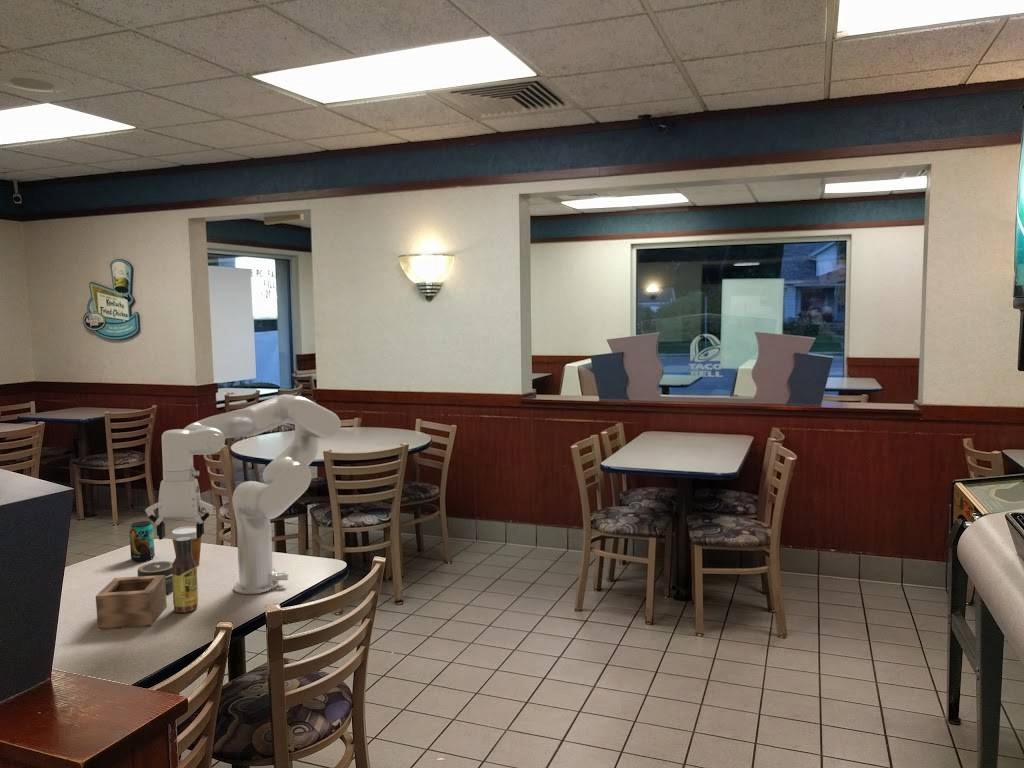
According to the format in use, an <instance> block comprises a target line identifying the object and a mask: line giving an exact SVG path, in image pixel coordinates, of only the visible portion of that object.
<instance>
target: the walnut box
mask: <svg viewBox="0 0 1024 768" xmlns="http://www.w3.org/2000/svg"><path fill="white" fill-rule="evenodd" d="M167 603H168V602H167V594H166V584H165V575H156V576H139V577H138V576H127V577H125V576H124V577H114V578H112V580H111V581H110V582H109V583H108V584H107V585H106V586H105V587H104V588H102V590H100V591H99V592H98V593H97V594H96V595H95V607H96V620H97V630H98V629H101V630H112V629H111V628H116V629H123V628H122V627H131V628H141V627H140V626H146V627H152V626H153V625H154V623H156V621H157V620H158V618H159V617H160V616H161V614H163V612H164V611H165V610H166V608H167V606H168V605H167ZM156 619H157V620H156ZM152 624H153V625H152Z"/></svg>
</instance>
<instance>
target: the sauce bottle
mask: <svg viewBox="0 0 1024 768" xmlns="http://www.w3.org/2000/svg"><path fill="white" fill-rule="evenodd" d="M191 543H192V538H191V537H181V538H177V539H176V546H177V553H176V554H177V557H176V556H175V558H174V560H173V561H172V563H173V565H172V568H173V573H172V580H173V591H172V604H173V610H174V612H175V613H180V614H185V613H189V612H193V611H195V610H196V609H198V604H199V590H198V589H199V588H198V586H199V585H198V567H197V565H196V563H195V560H194V558H193V555H192V551H191Z"/></svg>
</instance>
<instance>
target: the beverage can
mask: <svg viewBox="0 0 1024 768" xmlns="http://www.w3.org/2000/svg"><path fill="white" fill-rule="evenodd" d="M130 526H131V527H130V528H129V530H128V532H129V547H130V548H129V549H130V559H131V560H132V561H133V562H135V561H144V562H147V561H146V560H148V561H150V560H149V559H151V558H152V559H153V558H155V555H156V554H155V538H154V537H155V536H154V526H153V525H152V524H151V521H144V520H143V521H136V522H133V523H132V524H131V525H130ZM152 559H151V560H152Z"/></svg>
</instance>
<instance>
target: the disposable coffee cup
mask: <svg viewBox="0 0 1024 768" xmlns="http://www.w3.org/2000/svg"><path fill="white" fill-rule="evenodd" d="M202 536H203V535H202ZM202 536H201V537H200V538H197V533H196V525H188V526H186V525H185V526H180V527H177V528H174V529H173V530H172V531H171V534H170V538H171V541H172V543H173V549H174V554H175V558H176V557H177V554H176V553H177V546H176V539H177V538H181V537H191V538H192V543H191V551H192V555H193V558H194V560H195V563H196V565H197V566H198V565H199V566H200V561H201V560H200V559H201V548H202ZM199 566H198V567H199Z"/></svg>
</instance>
